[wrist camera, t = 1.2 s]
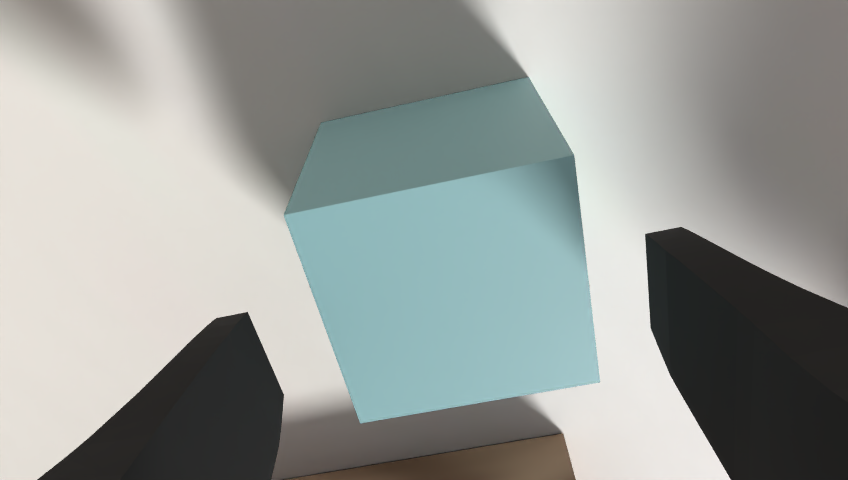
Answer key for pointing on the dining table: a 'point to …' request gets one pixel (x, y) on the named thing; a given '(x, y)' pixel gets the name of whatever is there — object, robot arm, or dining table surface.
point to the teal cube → (447, 252)
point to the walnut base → (474, 464)
